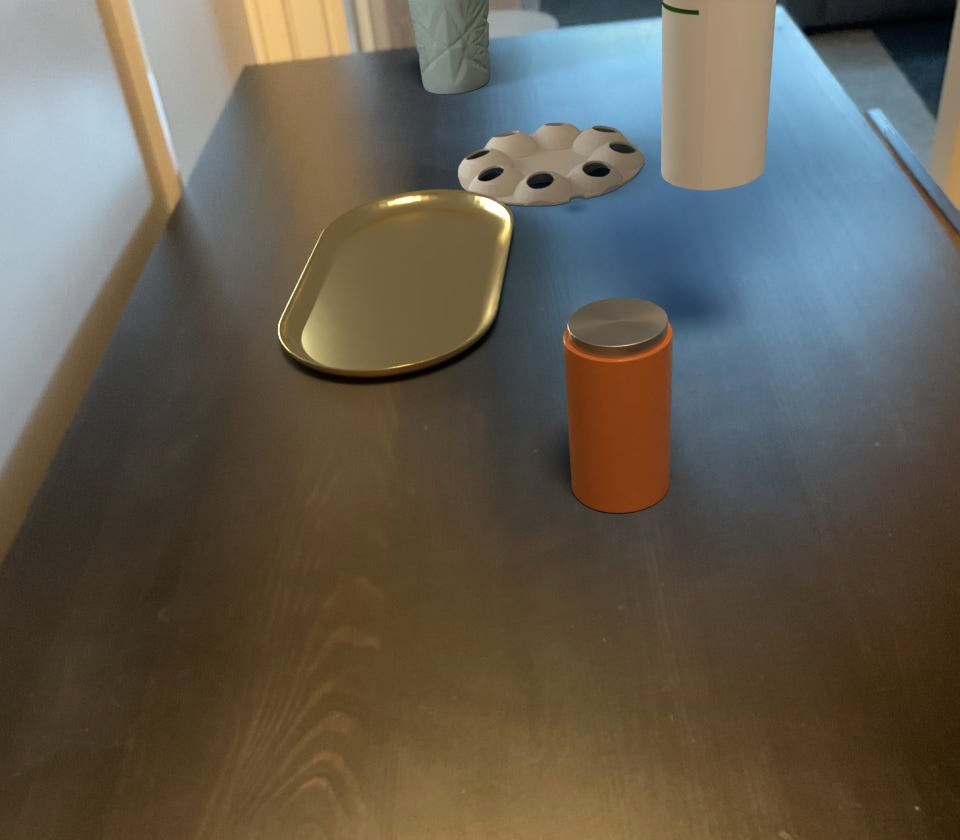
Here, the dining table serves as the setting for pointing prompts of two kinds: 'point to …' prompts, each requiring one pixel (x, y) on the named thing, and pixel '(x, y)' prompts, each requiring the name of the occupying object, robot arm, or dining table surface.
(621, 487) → the orange can
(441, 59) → the drinking glass
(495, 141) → the round palette
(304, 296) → the serving platter
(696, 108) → the cylindrical container
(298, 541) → the dining table surface
